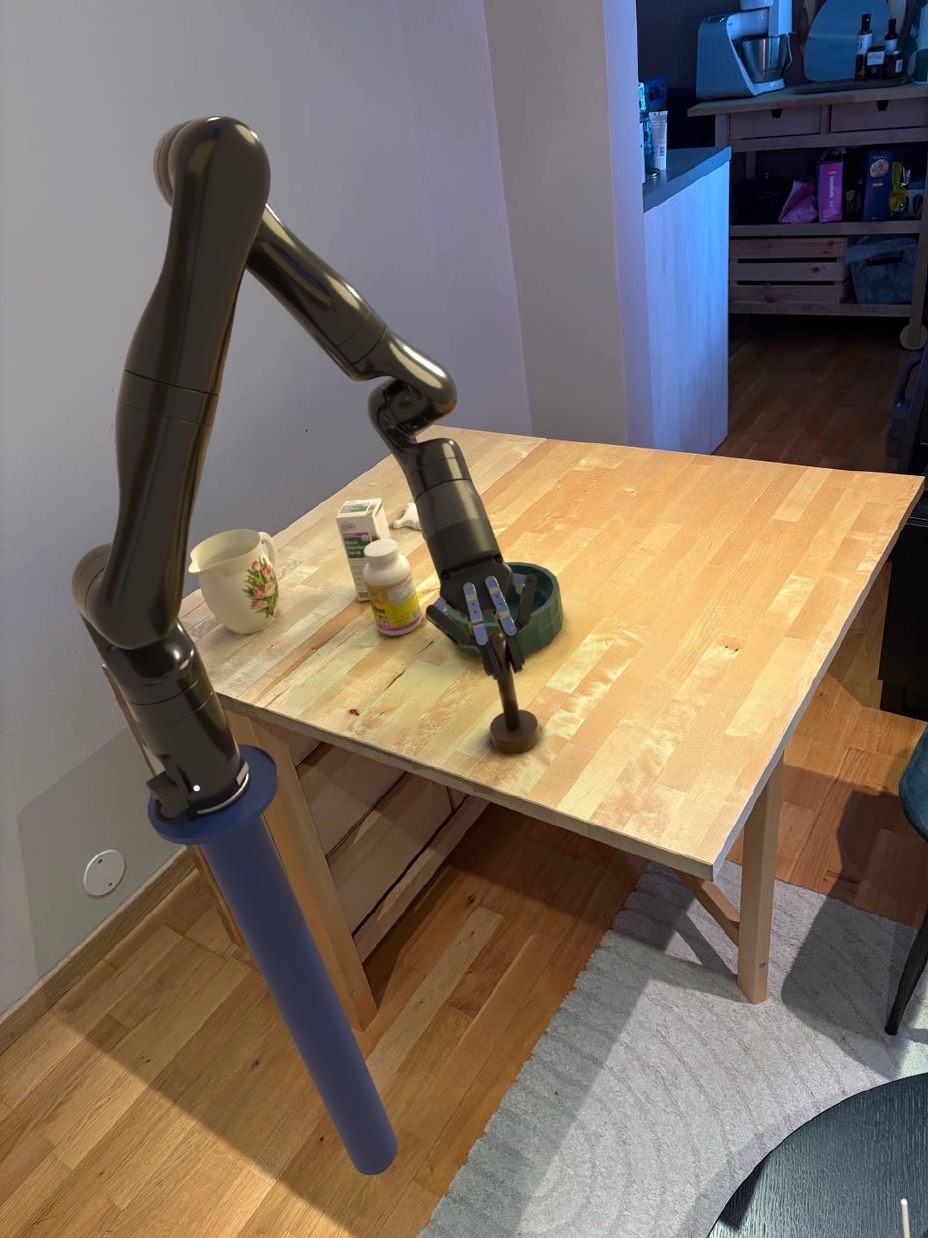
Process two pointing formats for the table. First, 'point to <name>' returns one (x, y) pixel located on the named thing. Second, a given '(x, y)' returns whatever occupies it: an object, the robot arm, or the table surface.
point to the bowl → (543, 614)
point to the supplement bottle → (391, 588)
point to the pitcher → (238, 578)
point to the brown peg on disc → (510, 708)
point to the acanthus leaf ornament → (408, 518)
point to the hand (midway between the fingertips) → (508, 674)
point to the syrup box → (361, 535)
